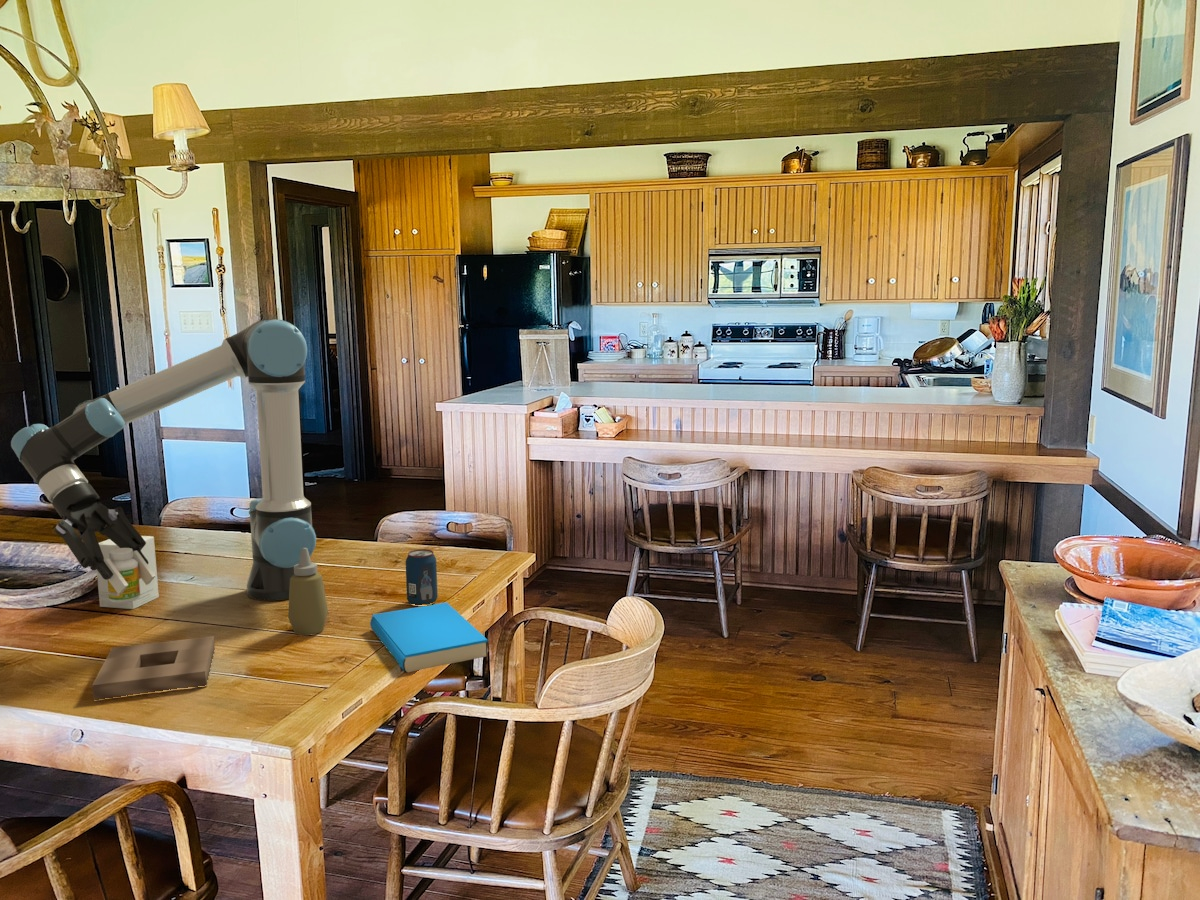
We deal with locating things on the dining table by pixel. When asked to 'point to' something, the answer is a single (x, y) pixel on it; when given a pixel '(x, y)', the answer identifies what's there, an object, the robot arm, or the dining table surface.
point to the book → (428, 636)
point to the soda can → (421, 577)
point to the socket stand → (154, 667)
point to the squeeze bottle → (307, 597)
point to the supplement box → (146, 591)
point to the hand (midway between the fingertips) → (137, 584)
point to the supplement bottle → (125, 575)
